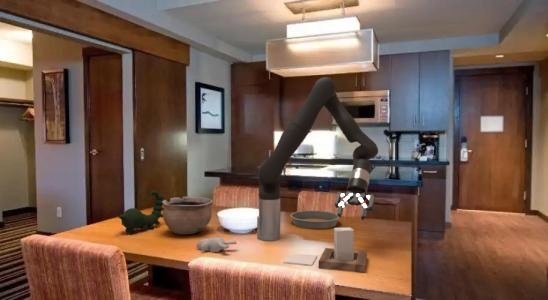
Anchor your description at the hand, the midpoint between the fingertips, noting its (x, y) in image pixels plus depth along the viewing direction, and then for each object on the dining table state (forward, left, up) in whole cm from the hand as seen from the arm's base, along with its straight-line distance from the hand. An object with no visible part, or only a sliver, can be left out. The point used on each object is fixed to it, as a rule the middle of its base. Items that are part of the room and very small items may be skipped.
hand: (350, 217), depth 139 cm
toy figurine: (-97, +10, -14) cm, 98 cm away
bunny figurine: (-50, -8, -15) cm, 53 cm away
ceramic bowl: (-74, +12, -14) cm, 76 cm away
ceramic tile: (-17, -10, -14) cm, 24 cm away
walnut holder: (-2, -9, -14) cm, 17 cm away
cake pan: (-22, +46, -15) cm, 53 cm away
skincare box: (-2, -9, -14) cm, 17 cm away
